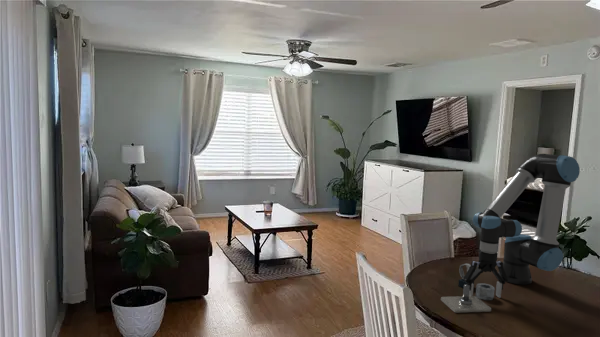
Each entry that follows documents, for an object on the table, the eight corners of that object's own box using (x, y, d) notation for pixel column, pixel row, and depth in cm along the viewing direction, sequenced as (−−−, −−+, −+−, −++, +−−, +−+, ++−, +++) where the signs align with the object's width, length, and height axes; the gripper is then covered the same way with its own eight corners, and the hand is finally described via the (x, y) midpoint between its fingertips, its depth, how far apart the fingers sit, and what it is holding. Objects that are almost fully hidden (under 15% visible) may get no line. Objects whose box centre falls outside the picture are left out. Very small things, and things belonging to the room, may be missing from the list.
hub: (487, 293, 190) (488, 283, 190) (496, 300, 183) (497, 289, 183) (473, 294, 189) (474, 283, 189) (481, 300, 182) (482, 289, 182)
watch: (469, 290, 193) (471, 267, 192) (455, 284, 200) (457, 262, 199) (477, 288, 196) (479, 266, 195) (462, 282, 203) (464, 261, 201)
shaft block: (474, 299, 183) (476, 279, 182) (490, 311, 172) (492, 290, 171) (440, 300, 181) (442, 280, 180) (454, 312, 169) (456, 291, 168)
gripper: (508, 248, 189) (504, 292, 192) (457, 248, 186) (453, 293, 188) (519, 253, 182) (514, 299, 184) (466, 253, 178) (462, 300, 181)
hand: (484, 296), depth 186 cm, fingers open, 13 cm apart
